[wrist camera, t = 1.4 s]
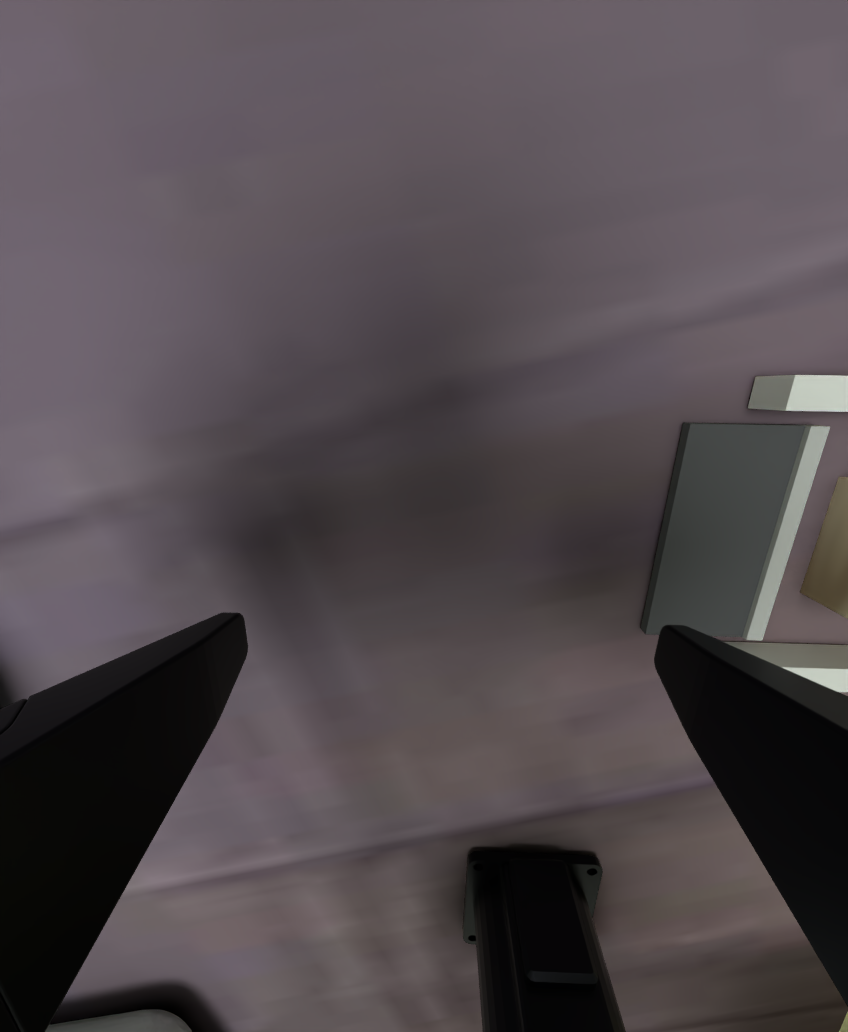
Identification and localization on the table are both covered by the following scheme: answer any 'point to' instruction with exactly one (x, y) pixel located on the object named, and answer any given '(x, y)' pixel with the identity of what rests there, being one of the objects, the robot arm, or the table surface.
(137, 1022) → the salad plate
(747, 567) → the pad
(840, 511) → the maple block
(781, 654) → the guide rails
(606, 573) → the table surface
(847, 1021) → the slatted curved stool
